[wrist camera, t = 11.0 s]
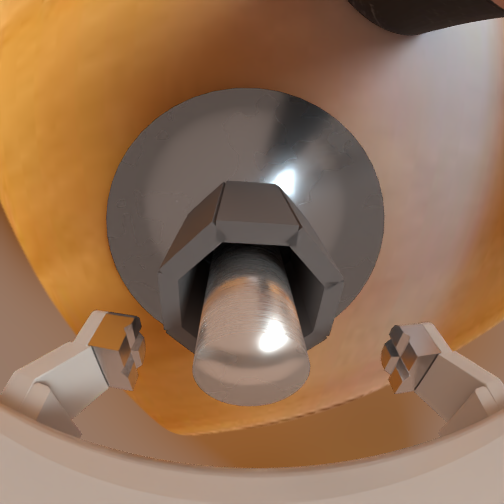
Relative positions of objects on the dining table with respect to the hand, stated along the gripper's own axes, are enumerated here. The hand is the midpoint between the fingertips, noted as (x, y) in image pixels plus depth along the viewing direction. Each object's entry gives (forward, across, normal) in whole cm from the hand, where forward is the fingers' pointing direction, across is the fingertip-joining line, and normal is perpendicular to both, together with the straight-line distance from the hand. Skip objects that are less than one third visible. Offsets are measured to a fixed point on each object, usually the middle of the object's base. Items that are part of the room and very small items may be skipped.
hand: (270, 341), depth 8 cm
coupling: (+8, +1, 0) cm, 8 cm away
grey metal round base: (+9, +1, 0) cm, 9 cm away
